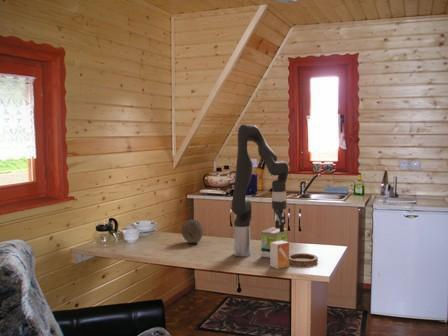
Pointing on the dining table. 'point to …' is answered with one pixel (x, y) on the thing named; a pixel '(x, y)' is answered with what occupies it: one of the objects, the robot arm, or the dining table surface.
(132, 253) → the dining table surface
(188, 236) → the cantaloupe
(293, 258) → the tray
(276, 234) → the tea box
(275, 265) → the small box
